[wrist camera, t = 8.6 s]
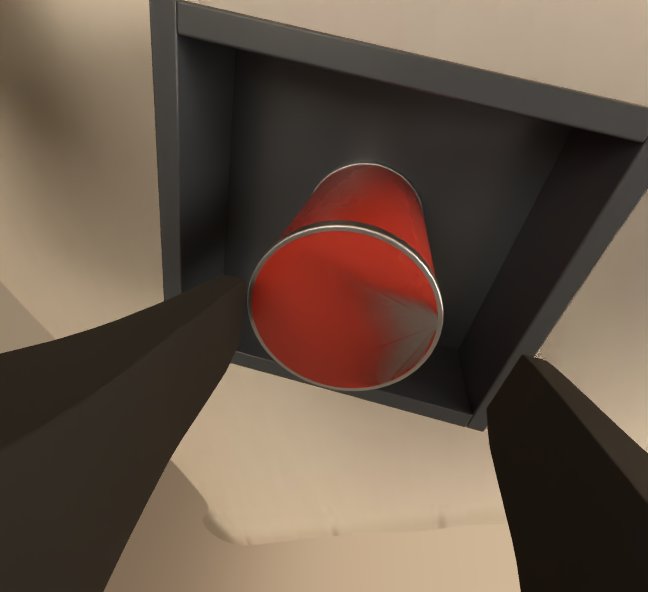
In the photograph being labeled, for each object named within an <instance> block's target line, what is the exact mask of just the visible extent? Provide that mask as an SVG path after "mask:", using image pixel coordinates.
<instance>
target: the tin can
mask: <svg viewBox="0 0 648 592" xmlns="http://www.w3.org/2000/svg"><path fill="white" fill-rule="evenodd" d="M247 306H248V314H249V318H250V322H251V325H252V328H253V330H254V332H255V335H256V337H257V338H258V340H259V342H260V343H261V345H262V346H263V348H264V349H265V350H266V352H267V353H268V354H269V355H270V356H271V357H272V358H273V359H274V360H275V361H276V362H277V363H278V364H280V365H281V366H282V367H283V368H285V369H286V370H287V371H289V372H290V373H292V374H294V375H295V376H297V377H299V378H301V379H303V380H305V381H307V382H310V383H312V384H315V385H318V386H321V387H325V388H330V389H335V390H343V391H363V390H371V389H377V388H381V387H384V386H388V385H391V384H393V383H395V382H398V381H400V380H402V379H404V378H405V377H407V376H409V375H410V374H412V373H413V372H414V371H416V370H417V369H418V368H419V367H420V366H421V365H422V364H423V363H424V362H425V361H426V360H427V359H428V357H429V356H430V355H431V353H432V352H433V350H434V348H435V346H436V345H437V342H438V340H439V337H440V334H441V330H442V325H443V304H442V297H441V293H440V289H439V286H438V283H437V280H436V277H435V272H434V267H433V262H432V257H431V252H430V247H429V242H428V237H427V231H426V226H425V221H424V210H423V205H422V202H421V198H420V196H419V194H418V192H417V190H416V189H415V187H414V185H413V184H412V183H411V182H410V181H409V179H408V178H407V177H405V176H404V175H403V174H402V173H401V172H399V171H398V170H396V169H394V168H392V167H390V166H388V165H385V164H382V163H378V162H372V161H359V162H353V163H349V164H345V165H343V166H340V167H338V168H337V169H335V170H333V171H332V172H330V173H329V174H328V175H326V176H325V177H324V178H323V179H322V180H321V181H320V183H319V184H318V185H317V187H316V188H315V189H314V191H313V193H312V195H311V196H310V198H309V199H308V201H307V202H306V203H305V205H304V206H303V207H302V209H301V210H300V211H299V213H298V214H297V215H296V217H295V218H294V219H293V221H292V222H291V223H290V225H289V226H288V227H287V229H286V230H285V231H284V233H283V234H282V235H281V237H280V238H279V239H278V241H277V242H276V243H275V244H274V245H273V246H272V247H271V248H270V249H269V250H268V251H267V252H266V254H265V255H264V256H263V257H262V259H261V260H260V261H259V263H258V264H257V266H256V268H255V270H254V272H253V274H252V277H251V280H250V283H249V288H248V297H247Z"/></svg>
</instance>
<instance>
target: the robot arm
mask: <svg viewBox="0 0 648 592" xmlns="http://www.w3.org/2000/svg"><path fill="white" fill-rule="evenodd" d="M246 281H247V280H243V279H240V278H236V277H232V276H228V275H225V274H224V275H221V276H219V277H216V278H214V279H212V280H210V281H208V282H205V283H203V284H201V285H199V286H197V287H195V288H192V289H190V290H188V291H186V292H184V293H181V294H179V295H177V296H175V297H172V298H170V299H168V300H166V301H163V302H161V303H159V304H157V305H154V306H151V307H149V308H146V309H144V310H141V311H139V312H136V313H134V314H131V315H129V316H126V317H124V318H121V319H119V320H116V321H113V322H110V323H108V324H105V325H102V326H99V327H96V328H93V329H90V330H87V331H83V332H80V333H77V334H74V335H70V336H67V337H64V338H60V339H57V340H53V341H50V342H46V343H42V344H38V345H34V346H30V347H25V348H22V349H17V350H13V351H9V352H5V353H1V354H0V592H103V591H104V589H105V587H106V585H107V583H108V581H109V579H110V576H111V574H112V572H113V570H114V568H115V566H116V564H117V562H118V560H119V558H120V556H121V554H122V551H123V549H124V547H125V545H126V543H127V541H128V539H129V537H130V535H131V533H132V531H133V529H134V527H135V525H136V523H137V521H138V520H139V518H140V515H141V514H142V512H143V509H144V508H145V506H146V504H147V502H148V500H149V498H150V496H151V494H152V492H153V490H154V488H155V486H156V484H157V483H158V481H159V479H160V477H161V475H162V473H163V471H164V469H165V467H166V465H167V463H168V461H169V460H170V458H171V456H172V455H173V453H174V451H175V450H176V448H177V446H178V445H179V443H180V441H181V440H182V438H183V437H184V435H185V434H186V432H187V431H188V429H189V428H190V426H191V425H192V423H193V422H194V420H195V419H196V417H197V416H198V414H199V412H200V411H201V409H202V408H203V406H204V405H205V403H206V402H207V400H208V399H209V397H210V396H211V394H212V393H213V391H214V389H215V388H216V386H217V385H218V383H219V382H220V380H221V379H222V377H223V375H224V374H225V372H226V370H227V368H228V366H229V364H230V362H231V360H232V358H233V356H234V354H235V352H236V350H237V348H238V345H239V343H240V341H241V332H242V322H243V312H244V301H245V291H246ZM486 412H487V425H488V436H489V444H490V450H491V454H492V459H493V463H494V467H495V472H496V476H497V480H498V484H499V488H500V492H501V497H502V501H503V505H504V509H505V513H506V517H507V521H508V525H509V529H510V533H511V537H512V542H513V546H514V551H515V556H516V561H517V567H518V575H519V582H520V589H521V592H648V453H647V452H646V451H645V450H643V449H642V448H641V447H640V446H639V445H638V444H637V443H636V442H635V441H634V440H632V439H631V438H630V437H629V436H628V435H627V434H626V433H625V432H624V431H623V430H622V429H621V428H619V427H618V426H617V425H616V424H615V423H614V422H613V421H612V420H611V419H610V418H609V417H608V416H607V415H606V414H605V413H604V412H602V411H601V410H600V409H599V408H598V407H597V406H596V405H595V404H594V403H593V402H592V401H591V400H590V399H589V398H588V397H587V396H586V395H585V394H583V393H582V392H581V391H580V390H579V389H578V388H577V387H576V386H575V385H574V384H573V383H572V382H571V381H570V380H568V379H567V378H566V377H565V376H564V375H563V374H562V373H561V372H560V371H558V370H557V369H556V368H555V367H554V366H552V365H551V364H550V363H548V362H547V361H545V360H541V359H538V358H534V357H530V356H527V355H523V354H522V355H521V356H520V358H519V359H518V361H517V363H516V364H515V366H514V367H513V369H512V370H511V372H510V373H509V375H508V376H507V378H506V379H505V381H504V382H503V384H502V385H501V387H500V388H499V390H498V392H497V393H496V395H495V396H494V398H493V399H492V401H491V402H490V404H489V405H488V407H487V408H486Z"/></svg>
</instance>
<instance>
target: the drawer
mask: <svg viewBox="0 0 648 592" xmlns="http://www.w3.org/2000/svg"><path fill="white" fill-rule="evenodd" d="M149 6H150V27H151V47H152V67H153V87H154V107H155V127H156V148H157V168H158V188H159V208H160V228H161V248H162V269H163V289H164V301H166V300H168V299H170V298H172V297H175V296H177V295H179V294H181V293H184V292H186V291H188V290H190V289H192V288H195V287H197V286H199V285H201V284H203V283H205V282H208V281H210V280H212V279H214V278H216V277H219V276H221V275H224V274H225V275H228V276H232V277H236V278H240V279H243V280H247V281H246V291H245V301H244V312H243V322H242V332H241V341H240V343H239V345H238V348H237V350H236V352H235V354H234V356H233V358H232V360H231V362H230V363H233V364H236V365H240V366H244V367H247V368H251V369H255V370H258V371H262V372H266V373H269V374H273V375H277V376H280V377H284V378H288V379H291V380H295V381H299V382H302V383H306V384H309V385H313V386H317V387H320V388H324V389H328V390H331V391H335V392H339V393H342V394H346V395H350V396H353V397H357V398H361V399H364V400H368V401H372V402H375V403H379V404H382V405H386V406H390V407H393V408H397V409H401V410H404V411H408V412H412V413H415V414H419V415H423V416H426V417H430V418H434V419H437V420H441V421H445V422H448V423H452V424H455V425H459V426H463V427H468V428H471V429H475V430H478V431H484V430H485V429H486V427H487V426H488V425H487V412H486V408H487V407H488V405H489V404H490V402H491V401H492V399H493V398H494V396H495V395H496V393H497V392H498V390H499V388H500V387H501V385H502V384H503V382H504V381H505V379H506V378H507V376H508V375H509V373H510V372H511V370H512V369H513V367H514V366H515V364H516V363H517V361H518V359H519V358H520V356H521V355H522V354H523V355H527V356H530V357H534V356H535V355H536V353H537V352H538V350H539V349H540V347H541V346H542V344H543V343H544V341H545V340H546V338H547V337H548V335H549V334H550V332H551V331H552V329H553V328H554V326H555V325H556V323H557V322H558V321H559V319H560V318H561V316H562V315H563V313H564V312H565V310H566V309H567V307H568V306H569V304H570V303H571V301H572V300H573V298H574V297H575V295H576V294H577V292H578V291H579V289H580V288H581V287H582V285H583V284H584V282H585V281H586V279H587V278H588V276H589V275H590V273H591V272H592V270H593V269H594V267H595V266H596V264H597V263H598V261H599V260H600V258H601V257H602V255H603V254H604V253H605V251H606V250H607V248H608V247H609V245H610V244H611V242H612V241H613V239H614V238H615V236H616V235H617V233H618V232H619V230H620V229H621V227H622V226H623V224H624V223H625V221H626V220H627V218H628V217H629V216H630V214H631V213H632V211H633V210H634V208H635V207H636V205H637V204H638V202H639V201H640V199H641V198H642V196H643V195H644V193H645V192H646V190H647V189H648V107H646V106H642V105H638V104H633V103H629V102H624V101H620V100H616V99H611V98H607V97H603V96H598V95H594V94H590V93H585V92H581V91H576V90H572V89H568V88H563V87H559V86H555V85H550V84H546V83H542V82H537V81H533V80H528V79H524V78H520V77H515V76H511V75H507V74H502V73H498V72H494V71H489V70H485V69H480V68H476V67H472V66H467V65H463V64H459V63H454V62H450V61H445V60H441V59H437V58H432V57H428V56H424V55H419V54H415V53H411V52H406V51H402V50H397V49H393V48H389V47H384V46H380V45H376V44H371V43H367V42H363V41H358V40H354V39H349V38H345V37H341V36H336V35H332V34H328V33H323V32H319V31H315V30H310V29H306V28H301V27H297V26H293V25H288V24H284V23H280V22H275V21H271V20H267V19H262V18H258V17H253V16H249V15H245V14H240V13H236V12H232V11H227V10H223V9H219V8H214V7H210V6H205V5H201V4H197V3H192V2H188V1H184V0H149ZM359 161H372V162H378V163H382V164H385V165H388V166H390V167H392V168H394V169H396V170H398V171H399V172H401V173H402V174H403V175H404V176H405V177H407V178H408V179H409V181H410V182H411V183H412V184H413V185H414V187H415V189H416V190H417V192H418V194H419V196H420V198H421V202H422V205H423V210H424V221H425V226H426V231H427V237H428V242H429V247H430V252H431V257H432V262H433V267H434V272H435V277H436V280H437V283H438V286H439V289H440V293H441V297H442V304H443V325H442V330H441V334H440V337H439V340H438V342H437V345H436V346H435V348H434V350H433V352H432V353H431V355H430V356H429V357H428V359H427V360H426V361H425V362H424V363H423V364H422V365H421V366H420V367H419V368H418V369H417V370H416V371H414V372H413V373H412V374H410V375H409V376H407V377H405V378H404V379H402V380H400V381H398V382H395V383H393V384H391V385H388V386H384V387H381V388H377V389H371V390H363V391H343V390H335V389H330V388H325V387H321V386H318V385H315V384H312V383H310V382H307V381H305V380H303V379H301V378H299V377H297V376H295V375H294V374H292V373H290V372H289V371H287V370H286V369H285V368H283V367H282V366H281V365H280V364H278V363H277V362H276V361H275V360H274V359H273V358H272V357H271V356H270V355H269V354H268V353H267V352H266V350H265V349H264V348H263V346H262V345H261V343H260V342H259V340H258V338H257V337H256V335H255V332H254V330H253V328H252V325H251V322H250V318H249V314H248V306H247V297H248V288H249V283H250V280H251V277H252V274H253V272H254V270H255V268H256V266H257V264H258V263H259V261H260V260H261V259H262V257H263V256H264V255H265V254H266V252H267V251H268V250H269V249H270V248H271V247H272V246H273V245H274V244H275V243H276V242H277V241H278V239H279V238H280V237H281V235H282V234H283V233H284V231H285V230H286V229H287V227H288V226H289V225H290V223H291V222H292V221H293V219H294V218H295V217H296V215H297V214H298V213H299V211H300V210H301V209H302V207H303V206H304V205H305V203H306V202H307V201H308V199H309V198H310V196H311V195H312V193H313V191H314V189H315V188H316V187H317V185H318V184H319V183H320V181H321V180H322V179H323V178H324V177H325V176H326V175H328V174H329V173H330V172H332V171H333V170H335V169H337V168H338V167H340V166H343V165H345V164H349V163H353V162H359Z"/></svg>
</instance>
